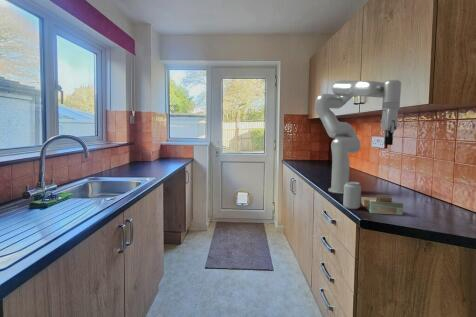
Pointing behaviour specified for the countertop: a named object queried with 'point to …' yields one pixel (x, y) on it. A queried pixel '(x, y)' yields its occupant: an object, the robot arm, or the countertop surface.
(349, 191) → the can
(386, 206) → the deck
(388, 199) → the block
